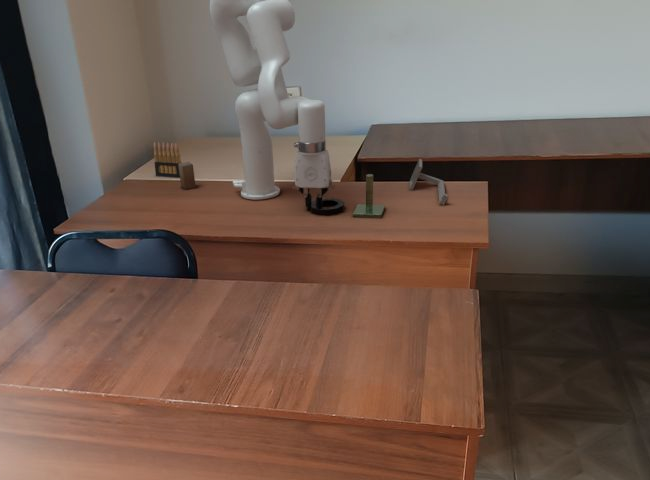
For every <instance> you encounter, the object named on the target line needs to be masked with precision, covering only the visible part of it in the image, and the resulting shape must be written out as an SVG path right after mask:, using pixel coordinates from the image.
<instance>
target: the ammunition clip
mask: <svg viewBox="0 0 650 480" xmlns="http://www.w3.org/2000/svg"><path fill="white" fill-rule="evenodd" d="M161 143H162V145H161ZM161 143H160V141H158V142H157V143H156V142H155V141H154V142H153V157H154V163H153V164H154V170H155V176H156V177H167V178H179V179H180V174H179V166H178V164H180V163H183V162H182V161H181V154H180V149H179V145H178V143H177V142H175V143H173V142H171V143H170V144H169V142H168V141H167V142H166V144H165V142H164V141H162V142H161Z"/></svg>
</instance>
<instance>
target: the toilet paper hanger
mask: <svg viewBox="0 0 650 480" xmlns="http://www.w3.org/2000/svg"><path fill="white" fill-rule="evenodd" d="M422 170H423V159H421V158H419V159H418V160H417V163H416V165H415V168H414V170H413V172H412V174H411V177H410V178H409V179H410V180H409V190H411V191H413V190H414V188H415V185H416V183H417V181H418V179H420V180H422V181H425V182H427V183H430V184H434V185H437V190H438V191H437V192H438V202H439V205H441V206H445V204H446V202H447V199H448V198H449V194H447V193H446V190H445V188H446V187H445V181H444V180H442V179H440V178H437V177H434V176H431V175H429V174H425V173H423V172H421V171H422Z"/></svg>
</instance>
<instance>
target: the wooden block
mask: <svg viewBox="0 0 650 480" xmlns="http://www.w3.org/2000/svg"><path fill="white" fill-rule="evenodd" d="M178 166H179V174H180V178H179V180H180V187H181V188H182V189H184V190H188V189H195V188H196V178H195V171H194V164H193V163H192V162H190V161H185V162H182V163H180V164H178Z"/></svg>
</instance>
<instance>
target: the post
mask: <svg viewBox="0 0 650 480" xmlns="http://www.w3.org/2000/svg"><path fill="white" fill-rule="evenodd" d="M385 209H386V205H385V204H374V174H373V173H368V174H366V175H365V204H357V205H356V207H355V209H354V211H353V213H352V217H353V218H368V219H369V218H372V219H381V218H382V217H383V214H384V212H385Z"/></svg>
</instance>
